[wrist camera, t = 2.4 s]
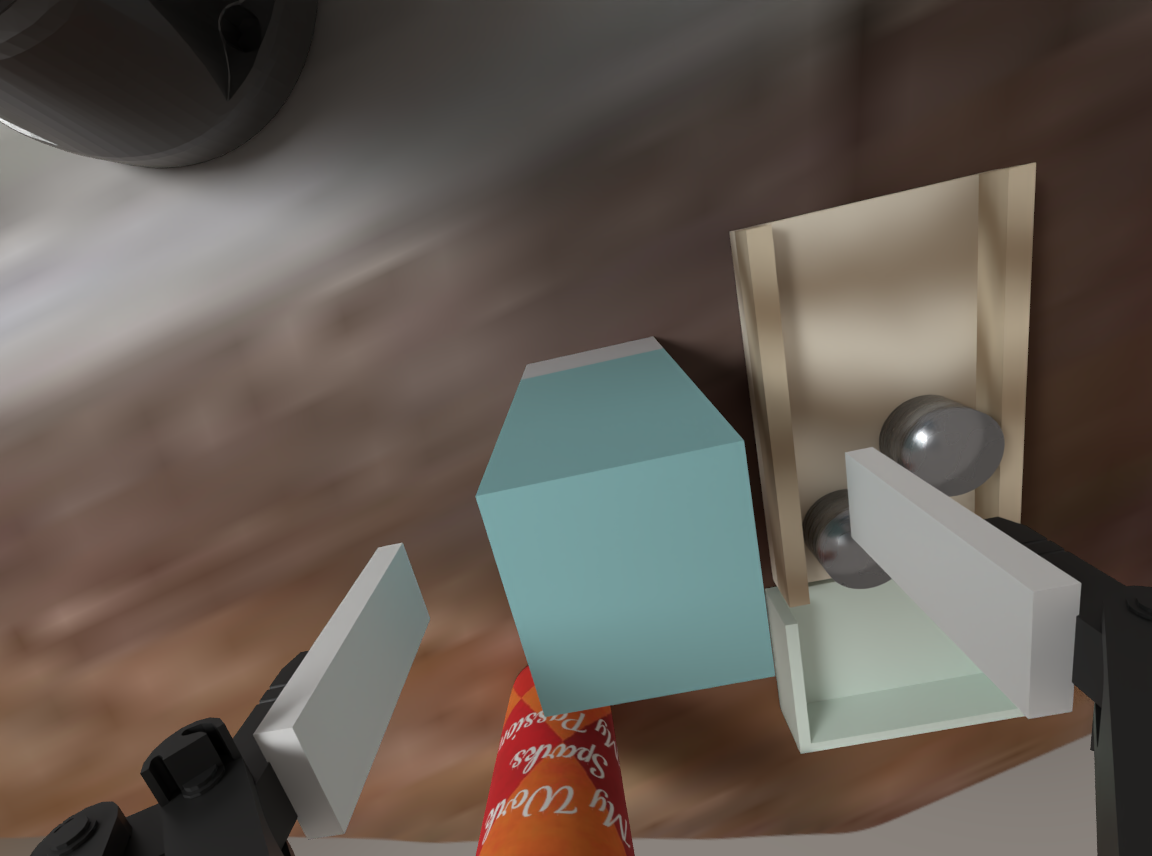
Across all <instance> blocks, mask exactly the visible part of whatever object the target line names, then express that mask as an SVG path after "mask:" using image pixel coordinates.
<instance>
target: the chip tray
mask: <svg viewBox="0 0 1152 856" xmlns="http://www.w3.org/2000/svg"><path fill="white" fill-rule="evenodd" d="M808 588H809V598H810V604H807V605H801V606H796V607H791V608H790V607H789V605H788V604H787V602H786V600H785V599H784V597H783V595H782V594H781V592H780V590H779V589H778V587H772V588H766V589H765V595H766V603H767V610H768V618H769V625H770V633H771V640H772V648H773V656H774V663H775V671H776V678H777V686H778V693H779V701H780V708H781V711H782V713H783V715H784V717H785V720H786V722H787V724H788V726H789V729H790V731H791V733H792V735H793V738H794V740H795V742H796V744H797V747H798V749H799V751H800V753H801V754H803V753H809V752H814V751H820V750H826V749H832V748H838V747H844V746H850V745H856V744H862V743H868V742H874V741H880V740H886V739H892V738H897V737H903V736H909V735H915V734H921V733H927V732H933V731H939V730H945V729H951V728H957V727H963V726H969V725H975V724H980V723H986V722H992V721H998V720H1004V719H1010V718H1016V717H1022V716H1025V715H1024V714H1023V713H1022V712H1021V711H1020V710H1019V709H1018V708H1017V707H1016V706H1015V705H1014V704H1013V703H1012V702H1011V700H1010V699H1009V698H1008V697H1007V696H1006V695H1005V694H1004V693H1003V692H1002V691H1001V690H1000V689H999V688H998V687H997V686H996V685H995V684H994V683H993V682H992V681H991V680H990V679H989V678H988V677H987V676H986V675H985V674H984V673H983V672H982V671H981V670H980V669H979V668H978V667H977V666H976V665H975V664H974V662H973V661H972V660H971V659H970V658H969V657H968V656H967V655H966V654H965V653H964V652H963V651H962V650H961V649H960V648H959V647H958V646H957V645H956V644H955V643H954V642H953V641H952V640H951V639H950V638H949V637H948V636H947V635H946V634H945V633H944V632H943V631H942V630H941V629H940V628H939V627H938V625H937V624H936V623H935V622H934V621H933V620H932V619H931V618H930V617H929V616H928V615H927V614H926V613H925V612H924V611H923V610H922V609H921V608H920V607H919V606H918V605H917V604H916V603H915V602H914V601H913V600H912V599H911V598H910V597H909V596H908V595H907V594H906V593H905V592H904V591H903V590H902V588H901V587H900V586H899V585H898V584H897V583H896V582H895V581H894V580H893V579H891V580H889V581H888V582H886V583H884V584H882V585H879V586H876V587H873V588H868V589H852V588H848V587H845V586H842V585H840V584H838V583H837V582H835V581H834V580H833V579H832V578H830V579H825V580H819V581H814V582H809V583H808Z"/></svg>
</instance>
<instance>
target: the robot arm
mask: <svg viewBox="0 0 1152 856" xmlns="http://www.w3.org/2000/svg"><path fill="white" fill-rule="evenodd" d="M317 3H318V0H0V122H1V123H3V124H4V125H6V126H8V127H10V128H11V129H13V130H15V131H17V132H19V133H21V134H23V135H25V136H28V137H30V138H32V139H35V140H37V141H39V142H41V143H44V144H47V145H50V146H53V147H55V148H58V149H61V150H64V151H67V152H71V153H74V154H78V155H82V156H87V157H91V158H96V159H102V160H107V161H113V162H118V163H123V164H129V165H135V166H143V167H159V168H163V167H179V166H187V165H192V164H197V163H201V162H204V161H207V160H211V159H214V158H216V157H219V156H221V155H223V154H226V153H228V152H229V151H231V150H233V149H235V148H237V147H239V146H240V145H242V144H243V143H245V142H246V141H248V140H249V139H250V138H252V137H253V136H254V135H255V134H257V133H258V132H259V131H260V130H261V129H262V128H263V127H264V126H265V125H266V124H267V123H268V122H269V121H270V120H271V119H272V118H273V117H274V115H275V114H276V113H277V112H278V110H279V109H280V108H281V106H282V105H283V104H284V102H285V101H286V99H287V98H288V96H289V94H290V93H291V91H292V89H293V87H294V85H295V83H296V81H297V79H298V77H299V75H300V73H301V70H302V68H303V66H304V63H305V60H306V57H307V54H308V51H309V48H310V44H311V40H312V36H313V31H314V25H315V20H316V13H317ZM845 461H846V474H847V487H848V500H849V513H850V526H851V537H852V538H853V539H854V540H855V541H856V542H857V543H858V544H859V545H860V546H861V547H862V548H863V549H864V550H865V552H866V553H867V554H868V555H869V556H870V557H871V558H872V559H873V560H874V561H875V562H876V563H877V564H878V565H879V566H880V567H881V568H882V569H883V570H884V571H885V572H886V573H887V574H888V575H889V576H890V577H891V578H892V579H893V580H894V581H895V582H896V583H897V584H898V585H899V586H900V587H901V588H902V590H903V591H904V592H905V593H906V594H907V595H908V596H909V597H910V598H911V599H912V600H913V601H914V602H915V603H916V604H917V605H918V606H919V607H920V608H921V609H922V610H923V611H924V612H925V613H926V614H927V615H928V616H929V617H930V618H931V619H932V620H933V621H934V622H935V623H936V624H937V625H938V627H939V628H940V629H941V630H942V631H943V632H944V633H945V634H946V635H947V636H948V637H949V638H950V639H951V640H952V641H953V642H954V643H955V644H956V645H957V646H958V647H959V648H960V649H961V650H962V651H963V652H964V653H965V654H966V655H967V656H968V657H969V658H970V659H971V660H972V661H973V662H974V664H975V665H976V666H977V667H978V668H979V669H980V670H981V671H982V672H983V673H984V674H985V675H986V676H987V677H988V678H989V679H990V680H991V681H992V682H993V683H994V684H995V685H996V686H997V687H998V688H999V689H1000V690H1001V691H1002V692H1003V693H1004V694H1005V695H1006V696H1007V697H1008V698H1009V699H1010V700H1011V702H1012V703H1013V704H1014V705H1015V706H1016V707H1017V708H1018V709H1019V710H1020V711H1021V712H1022V713H1023V714H1024V715H1025V716H1026V717H1027V718H1028V719H1031V718H1037V717H1043V716H1049V715H1055V714H1061V713H1067V712H1072V706H1073V692H1074V685H1075V686H1077V687H1078V688H1079V689H1080V690H1081V691H1082V692H1084V693H1085V694H1086V695H1087V696H1088V697H1089V698H1091V699H1092V700H1093V701H1094V702H1095V703H1094V714H1093V726H1092V737H1091V749H1090V750H1092V751H1094V757H1095V789H1096V819H1097V820H1096V821H1097V852H1098V856H1152V587H1144V586H1127V587H1126V586H1125V585H1123V584H1121V583H1120V582H1118V581H1116V580H1115V579H1113V578H1111V577H1110V576H1108V575H1106V574H1105V573H1103V572H1102V571H1100V570H1098V569H1097V568H1095V567H1093V566H1092V565H1090V564H1088V563H1087V562H1085V561H1083V560H1082V559H1080V558H1078V557H1077V556H1075V555H1073V554H1072V553H1070V552H1065V551H1064V549H1063V548H1062V547H1060V546H1059V545H1057V544H1055V543H1054V542H1052V541H1047V538H1045V537H1044V536H1042V535H1040V534H1039V533H1037V532H1035V531H1034V530H1032V529H1030V528H1029V527H1027V526H1025V525H1022V524H1019V523H1016V522H1013V521H1010V520H1007V519H1004V518H1001V517H993V518H988V519H982V518H981V517H979V516H978V515H976V514H974V513H973V512H971V511H970V510H968V509H967V508H965V507H964V506H962V505H961V504H959V503H958V502H956V501H955V500H953V499H951V498H950V497H948V496H947V495H945V494H944V493H942V492H941V491H939V490H938V489H936V488H935V487H933V486H932V485H930V484H928V483H927V482H925V481H924V480H922V479H921V478H919V477H918V476H916V475H915V474H913V473H912V472H910V471H908V470H907V469H905V468H904V467H902V466H901V465H899V464H898V463H896V462H895V461H893V460H892V459H890V458H889V457H887V456H885V455H884V454H882V453H881V452H879V451H878V450H876V449H875V448H873V447H869V448H864V449H859V450H854V451H850V452H845ZM429 620H430V617H429V614H428V611H427V608H426V606H425V603H424V600H423V597H422V595H421V592H420V589H419V586H418V584H417V581H416V578H415V575H414V573H413V570H412V567H411V564H410V562H409V559H408V556H407V553H406V551H405V548H404V545H403V543H399V544H394V545H389V546H384V547H379V548H378V549H377V550H376V552H375V553H374V555H373V556H372V558H371V559H370V561H369V562H368V564H367V565H366V567H365V568H364V570H363V571H362V573H361V574H360V576H359V577H358V579H357V580H356V582H355V583H354V585H353V586H352V588H351V589H350V591H349V592H348V594H347V595H346V597H345V598H344V600H343V601H342V602H341V604H340V605H339V607H338V608H337V610H336V611H335V613H334V614H333V616H332V617H331V619H330V620H329V622H328V623H327V625H326V626H325V628H324V629H323V631H322V632H321V634H320V635H319V637H318V638H317V640H316V641H315V643H314V644H313V646H312V647H311V649H310V650H309V651H305V652H300V653H299V654H298V655H297V656H296V657H295V658H294V659H293V660H292V661H290V662H289V663H288V664H287V665H286V666H285V667H284V668H283V669H282V670H281V671H280V673H279V674H278V675H277V677H276V678H275V680H274V681H273V683H272V684H271V685H270V690H267V691H266V692H265V694H264V695H263V697H262V698H261V700H260V704H258V705H256V707H255V708H254V709H253V711H252V712H251V714H250V715H249V717H248V718H247V719H246V721H245V722H244V724H243V725H242V726H241V728H240V729H239V731H238V732H237V734H236V735H235V736H234V738H233V739H232V737H231V735H230V733H229V731H228V730H227V728H226V726H225V724H224V723H223V722H222V720H221V719H220V718H206V719H203V720H199V721H196V722H194V723H192V724H190V725H187V726H185V727H183V728H181V729H180V730H178V731H177V732H175V733H174V734H172V735H171V736H170V737H168V738H167V739H165V740H164V741H163V742H162V743H161V744H160V745H159V746H158V747H157V748H156V749H154V750H153V751H152V753H151V754H150V755H149V757H148V758H147V759H146V761H145V762H144V764H143V767H142V770H141V773H140V774H141V775H142V777H143V779H144V780H145V782H146V783H147V785H148V787H149V788H150V790H151V791H152V793H153V795H154V796H155V798H156V799H157V801H158V804H156V805H154V806H151V807H149V808H147V809H145V810H142V811H140V812H138V813H135V814H133V815H131V816H128V817H125V816H124V814H123V813H122V811H121V809H120V808H119V806H117V805H116V804H115V803H114V802H101V803H98V804H95V805H93V806H90V807H87V808H85V809H84V810H82V811H80V812H78V813H77V814H75V815H72V816H71V817H69V818H68V819H66V820H65V821H63V823H62V824H59V825H58V826H57V827H56V828H55V829H53V830H52V831H51V832H50V833H49V834H48V835H47V836H46V837H45V838H44V839H43V841H42V842H40V843H39V844H38V846H37V847H36V848H35V849H34V851H33V852H32V854H31V855H30V856H295V855H294V852H293V850H292V848H291V846H290V844H289V843H288V841H287V838H288V836H289V834H290V832H291V830H292V828H293V826H294V824H295V822H296V820H298V822H299V824H300V826H301V827H302V829H303V831H304V833H305V835H306V837H307V839H308V840H310V839H316V838H322V837H328V836H334V835H340V834H345V831H346V829H347V826H348V824H349V821H350V819H351V816H352V814H353V811H354V809H355V806H356V804H357V801H358V799H359V796H360V794H361V791H362V789H363V786H364V784H365V781H366V779H367V776H368V774H369V771H370V768H371V766H372V763H373V761H374V758H375V756H376V753H377V751H378V748H379V746H380V743H381V741H382V738H383V736H384V733H385V731H386V728H387V726H388V723H389V721H390V718H391V716H392V713H393V711H394V708H395V706H396V703H397V701H398V698H399V696H400V693H401V691H402V688H403V686H404V683H405V681H406V678H407V676H408V673H409V671H410V668H411V666H412V663H413V661H414V658H415V655H416V653H417V650H418V648H419V645H420V643H421V640H422V638H423V635H424V633H425V630H426V628H427V625H428V623H429Z"/></svg>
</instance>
